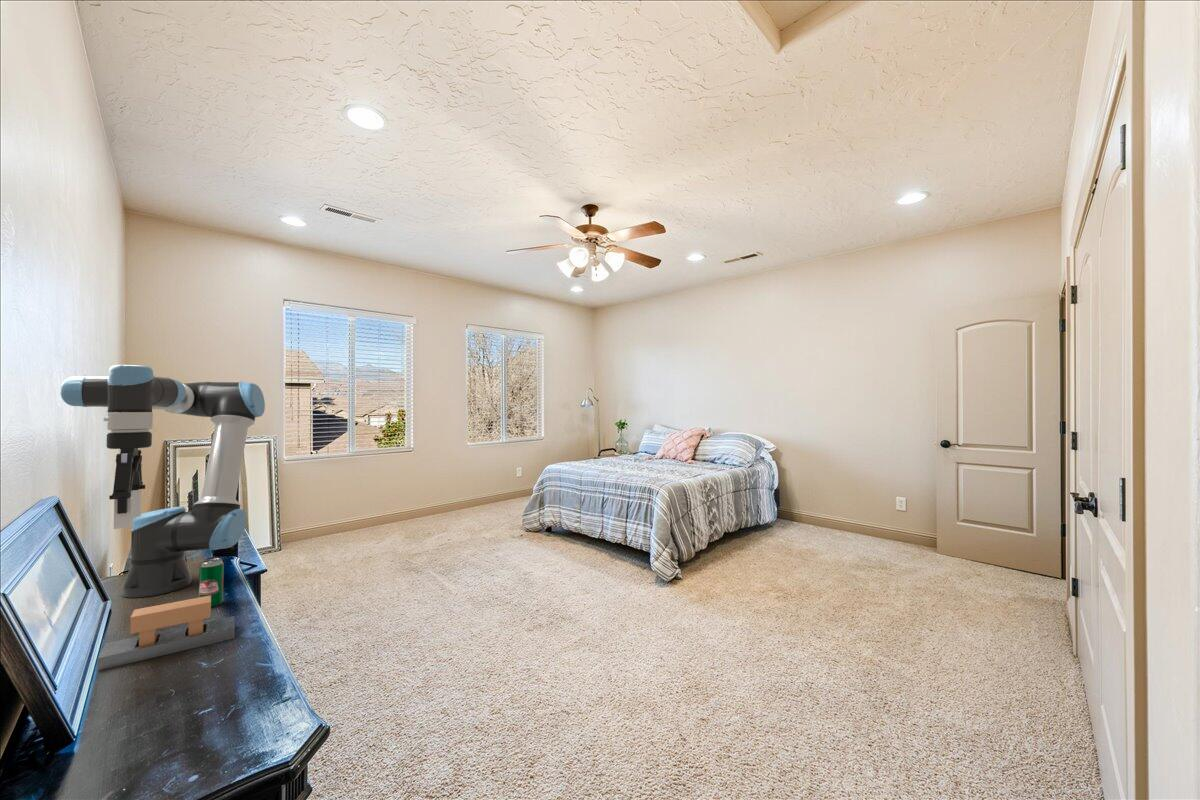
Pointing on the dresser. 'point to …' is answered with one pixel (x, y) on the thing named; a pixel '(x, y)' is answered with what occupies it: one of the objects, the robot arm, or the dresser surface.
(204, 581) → the soda can
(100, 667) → the rail
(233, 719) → the dresser surface
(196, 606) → the wooden arch block
